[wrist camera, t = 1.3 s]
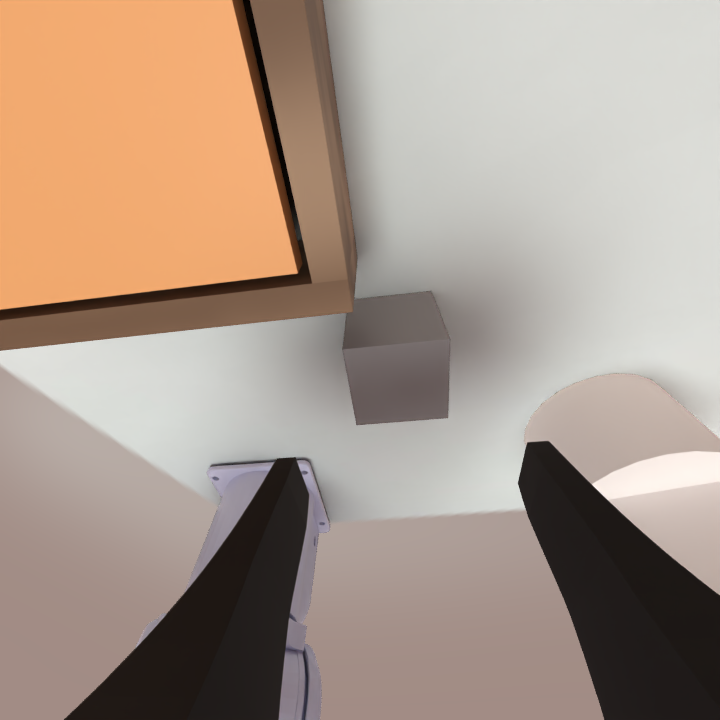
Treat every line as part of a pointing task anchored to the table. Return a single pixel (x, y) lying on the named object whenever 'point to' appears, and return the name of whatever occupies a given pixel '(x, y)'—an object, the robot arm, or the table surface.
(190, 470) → the table surface
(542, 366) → the table surface
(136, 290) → the orange flap
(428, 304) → the gray block
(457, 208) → the table surface
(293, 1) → the wooden box
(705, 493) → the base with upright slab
